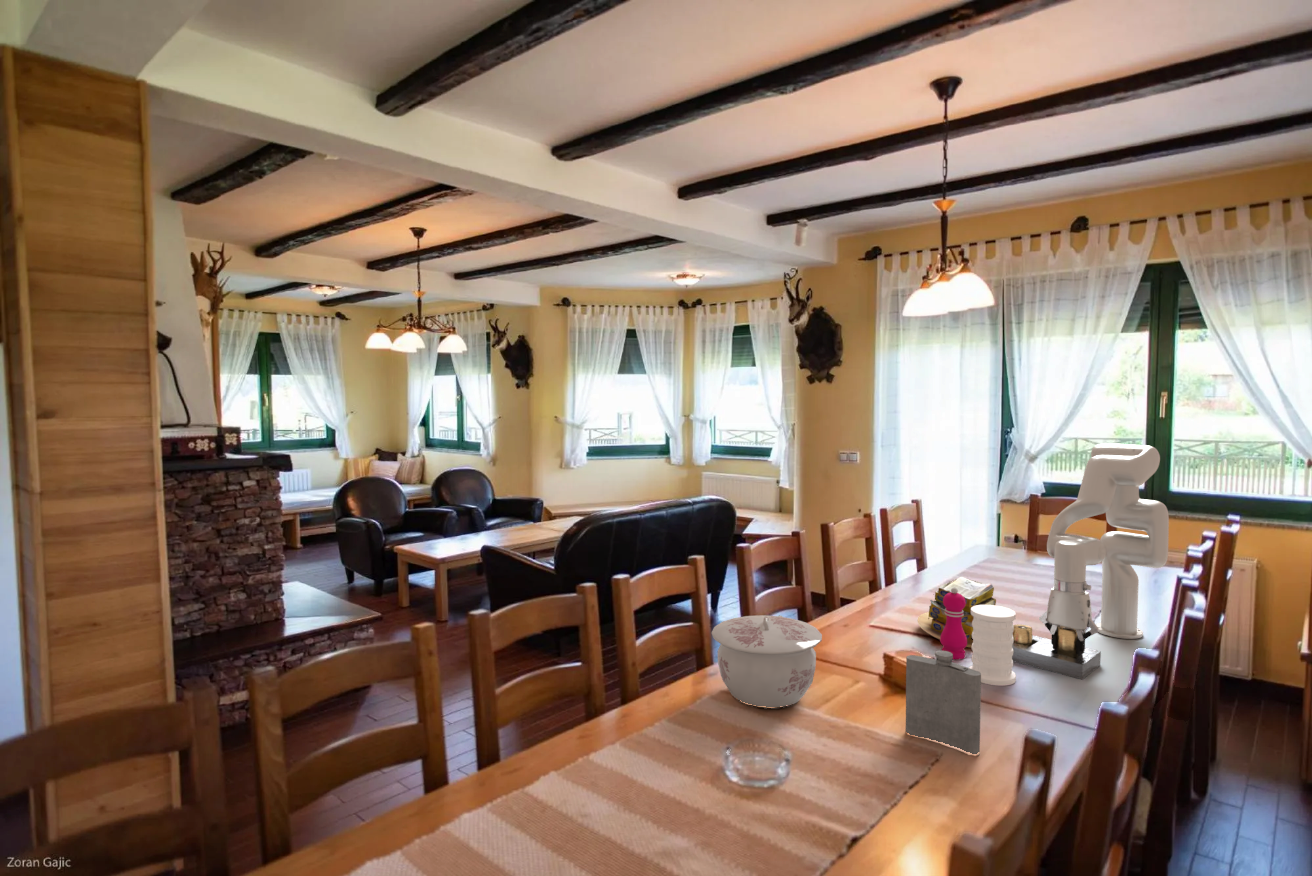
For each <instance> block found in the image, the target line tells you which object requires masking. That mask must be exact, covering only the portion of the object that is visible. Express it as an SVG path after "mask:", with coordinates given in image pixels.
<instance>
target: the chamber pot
mask: <svg viewBox="0 0 1312 876" xmlns="http://www.w3.org/2000/svg"><path fill="white" fill-rule="evenodd" d="M711 635H712V638H713V639H714V640H715V641H716V642H717V643H719V644H720V645H719V646H718V648H717V649H718V650H717V664H718V669H719V673H720V677H721V679H722V682H723V684H724V685H725V687H726V688H727V690H728V691H729V692H730V693H729V694H730V695H731V696H732V697H734V698H735V699H736V698H737V699H738V700H741V701H742V702H745V703H748V704H752V705H756V706H766V707H780V706H786V705H791V704H793V705H794V704H797V703H798V702H799V701H801V699H802V698H803V697H804V696H805V694H806V693H807V692H808V690H809V689H810V687H811V686H812V684H813V681H814V677H815V672H816V666H817V665H816V664H817V652H816V651H815V649H814V648H815V647H817V645H818V644H819V643H821V642H822V639H823V634H822V633H821V632H820V631H819V630H818V628H817V627H815V626H814V625H812V624H810V623H808V622H805V621H803V620H798V619H795V618H790V617H785V616H783V615H765V614H764V615H763V614H762V615H745V616H739V617H733V618H729V619H726V620H724V621H721V622H720V623H718V624H717V625H715V626H714V627H713V629H712V631H711ZM819 645H820V644H819ZM737 699H736V700H737ZM738 700H737V701H738ZM742 702H741V703H742ZM791 706H792V705H791Z"/></svg>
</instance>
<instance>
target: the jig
mask: <svg viewBox="0 0 1312 876" xmlns="http://www.w3.org/2000/svg"><path fill="white" fill-rule="evenodd" d="M1013 625H1014V630H1013V633H1012V636H1013V638H1014V641H1013V644H1012V648H1013V652H1014V653H1013V656H1012V660H1013V663H1017V664H1018V663H1019V664H1022V665H1026V666H1030V667H1034V668H1037V669H1040V670H1044V671H1047V672H1052V673H1055V674H1056V673H1057V674H1059V675H1064V676H1066V677H1070V678H1075V679H1079V680H1082V681H1083V680H1084V679H1086V677H1088V676H1089V675H1090V674H1091V673H1093V672H1094V671H1095V670H1096V669H1098V668H1099V667H1100V666H1101V659H1102V655H1101V654H1102V653H1101V650H1097V649H1092V648H1088V647H1085V651H1084V652H1083V653H1081V654H1080V655H1078V658H1073V657H1069V656H1065V655H1061V654H1057V649H1053V644H1051V640H1052V638H1051V639H1050V638H1046V637H1041V636H1038V635H1033V627H1031V626H1029V625H1026V624H1019V623H1018V624H1013Z"/></svg>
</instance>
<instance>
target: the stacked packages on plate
mask: <svg viewBox="0 0 1312 876" xmlns="http://www.w3.org/2000/svg"><path fill="white" fill-rule="evenodd" d="M952 588H957V590H958V592H957V593H959V594H961V595H962V596H963V597H964V598H965V602H966V605H965V607H964V608H963V609H962V610H963V611H964V612H963V614H964V615H963V616H962V620H961V623H962V628H963V630H964V633H965V635H966V638H967V646H966V647H965V648H971V649H972V643H973V640H972V639H971V638H972V632H973V627H972V621H973V618H974V616H972V615H971V607H973V606H976V605H996V606H997V598H996V597H995V598H994V591H995V587H994V586H993V584H992V583H991V582H990V583H983V582H979V581H976V580H972V579H969V578H966V577H964V576H959V577H958V578H955V579H952V580H951V581H948V582H947V583H944V584H942V585H940V586H938V590H935V591H934V600H932V599H929V600H930V605H929V609H928V611H927V612H924V613H922V614H920V615H918V617H917V624H918V626H919V627H920V628H921V629H922V630H923V631H924V632H926V634H928V635H930V636H931V637H933V638H935V639H938V640H940V637H941V634H942V631H943V629H944V627H945V625H946V620H947V618H946V614H945V608H946V607H945V606H944V604H943V598H944V596H945V595H946V594H948V593H951V589H952Z"/></svg>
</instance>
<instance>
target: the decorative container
mask: <svg viewBox="0 0 1312 876" xmlns="http://www.w3.org/2000/svg"><path fill="white" fill-rule="evenodd" d="M971 615H972V616H974V618H973V621H972V627H973V632H972V639H973V643H972V648H971V651H972V655H971V662H972V665H970V666H969V667H968V668H970V669H973V670H976V671H979V672H980V673H981V684H986V685H989V686H990V685H991V686H999V687H1002V686H1003V687H1004V686H1010V685H1014V684H1015V683H1016V682H1017V674H1016V673H1015V672H1014V671H1013V667H1014V661H1013V660H1012V656H1013V653H1014V652H1013V648H1012V644H1013V641H1014V638H1013V636H1012V633H1013V630H1014V625H1015V624H1014V623H1013V622H1014V621H1015V620H1016V617H1017V615H1016V611H1015V610H1013V609H1011V608H1009V607H1006V606H1001V605H997V604H996V605H976V606H973V607H971Z"/></svg>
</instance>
